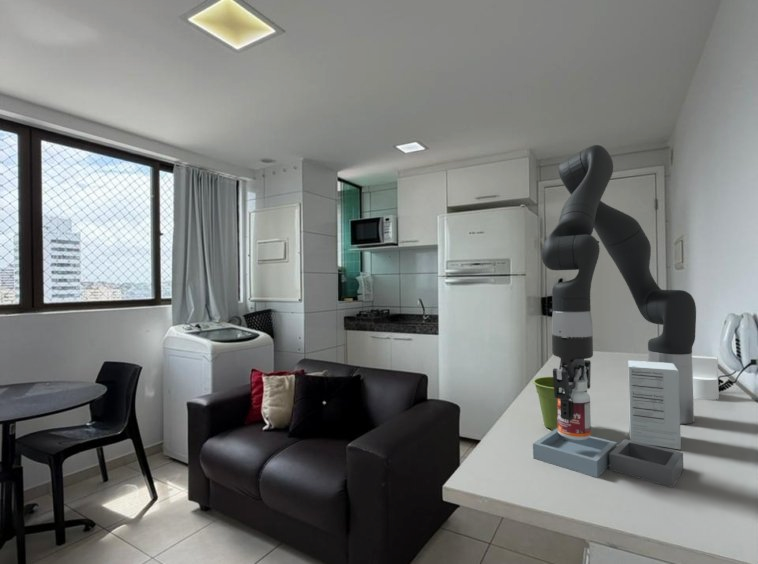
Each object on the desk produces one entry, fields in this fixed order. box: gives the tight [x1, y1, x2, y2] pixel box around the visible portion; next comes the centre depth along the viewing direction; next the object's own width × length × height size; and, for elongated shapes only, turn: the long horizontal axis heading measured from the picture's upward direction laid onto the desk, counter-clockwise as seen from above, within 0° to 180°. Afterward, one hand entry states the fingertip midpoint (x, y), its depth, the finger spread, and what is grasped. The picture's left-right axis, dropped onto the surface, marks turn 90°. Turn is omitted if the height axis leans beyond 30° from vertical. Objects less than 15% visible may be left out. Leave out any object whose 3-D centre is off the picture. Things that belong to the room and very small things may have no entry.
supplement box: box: [627, 360, 682, 451], centre depth 90 cm, size 10×9×17 cm
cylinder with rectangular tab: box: [692, 355, 720, 401], centre depth 123 cm, size 9×9×12 cm
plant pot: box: [532, 376, 560, 431], centre depth 98 cm, size 12×12×11 cm
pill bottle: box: [557, 379, 592, 440], centre depth 81 cm, size 6×6×11 cm
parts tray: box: [532, 428, 618, 479], centre depth 81 cm, size 12×12×3 cm
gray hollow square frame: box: [609, 438, 684, 488], centre depth 76 cm, size 10×10×3 cm
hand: (573, 414), depth 81 cm, fingers closed on pill bottle, 6 cm apart
